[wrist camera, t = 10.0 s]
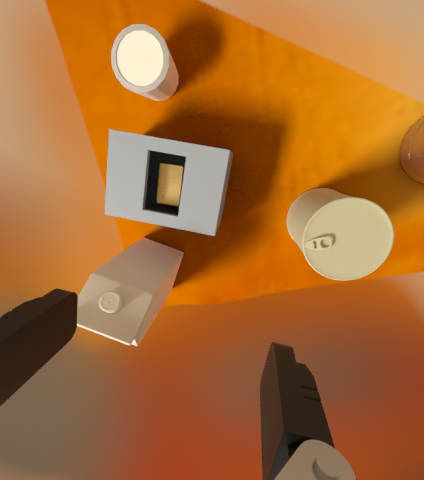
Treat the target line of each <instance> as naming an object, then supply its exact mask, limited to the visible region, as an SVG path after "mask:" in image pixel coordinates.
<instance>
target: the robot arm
mask: <svg viewBox="0 0 424 480" xmlns="http://www.w3.org/2000/svg"><path fill="white" fill-rule="evenodd" d="M400 160H401V165H402V167H403V169H404V171H405V172H406V173H407V175H408V176H409V177H411V178H412V179H413V180H415V181H417V182H420V183H424V116H423V117H422V118H421V119H419V120H418V121H417V122H416V123H415V124H414V125H413V126H411V128H410V129H409V130H408V132H407V133H406V135H405V137H404V139H403V141H402V144H401V148H400ZM77 305H78V297H77V294H76V293H74V292H70V291H66V290H61V289H54V290H53V291H51V292H50V293H48V294H46V295H44V296H43V297H39V298H36V299H33V300H30V301H27V302H24V303H23V304H21V305H19V306H17V307H16V308H14V309H13V310H12V311H9V312H7V313H6V314H4V315H2V317H1V318H0V406H1V405H2V404H3V403H4V402H5V401H6V400H7V399H9V397H11V396H12V395H13V394H14V393H15V392H16V391H17V390H18V389H19V388H20V387H21V386H22V385H23V384H24V383H25V382H27V380H28V379H30V378H31V377H32V376H33V375H34V374H35V373H36V372H37V371H38V370H39V369H40V368H41V367H42V366H43V365H45V364H46V363H47V362H48V361H49V360H50V359H51V358H52V357H53V356H54V355H55V354H56V353H57V352H58V351H59V350H60V349H62V348H63V347H64V346H65V345H66V344H67V343H68V342H69V341H70V340H71V338H72V337H73V335H74V333H75V331H76V327H77ZM260 407H261V408H260V409H261V443H262V474H263V475H262V476H263V480H357V479H356V477H355V474H354V472H353V470H352V468H351V466H350V465H349V463H348V462H347V461H346V459H345V458H344V457H343V456H342V455H341V454H340V453H339V452H338V451H337V450H336V449H335V447H334V444H333V441H332V438H331V434H330V431H329V427H328V423H327V420H326V417H325V413H324V410H323V406H322V403H321V399H320V396H319V393H318V392H317V386H316V382H315V379H314V376H313V375H312V374H311V372H310V371H309V369H308V368H307V367H306V365H305V364H301V363H297V362H296V360H295V355H294V351H293V348H292V347H291V346H287V345H283V344H279V343H275V342H272V343H271V345H270V349H269V352H268V356H267V360H266V363H265V366H264V370H263V373H262V377H261V384H260Z"/></svg>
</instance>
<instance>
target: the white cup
mask: <svg viewBox="0 0 424 480" xmlns="http://www.w3.org/2000/svg"><path fill="white" fill-rule="evenodd" d="M111 62H112V68H113V70H114V73H115V76H116V78H117V79H118V80H119V81H120V83H121V84H122V85H123V86H124V87H125V88H127V89H129V90H131V91H133V92H135V93H138V94H140V95H142V96H145V97H147V98H150V99H152V100H155V101H164V100H166V99H168V98H170V97H171V96H172V95H173V94H174V93H175V91H176V89H177V86H178V82H179V74H178V71H177V68H176V65H175V63H174V61H173V59H172V56H171V54H170V52H169V49H168V47H167V45H166V42H165V40H164V39H163V37H162V36H161V35H160V34H159V33H158V31H157V30H156V29H154V28H152V27H150V26H148V25H146V24H132V25H130V26H129V27H127V28H125V29H123V30H122V31H121V32H120V34H119V35H118V36H117V37H116V39H115V41H114V44H113V47H112V51H111Z"/></svg>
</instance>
